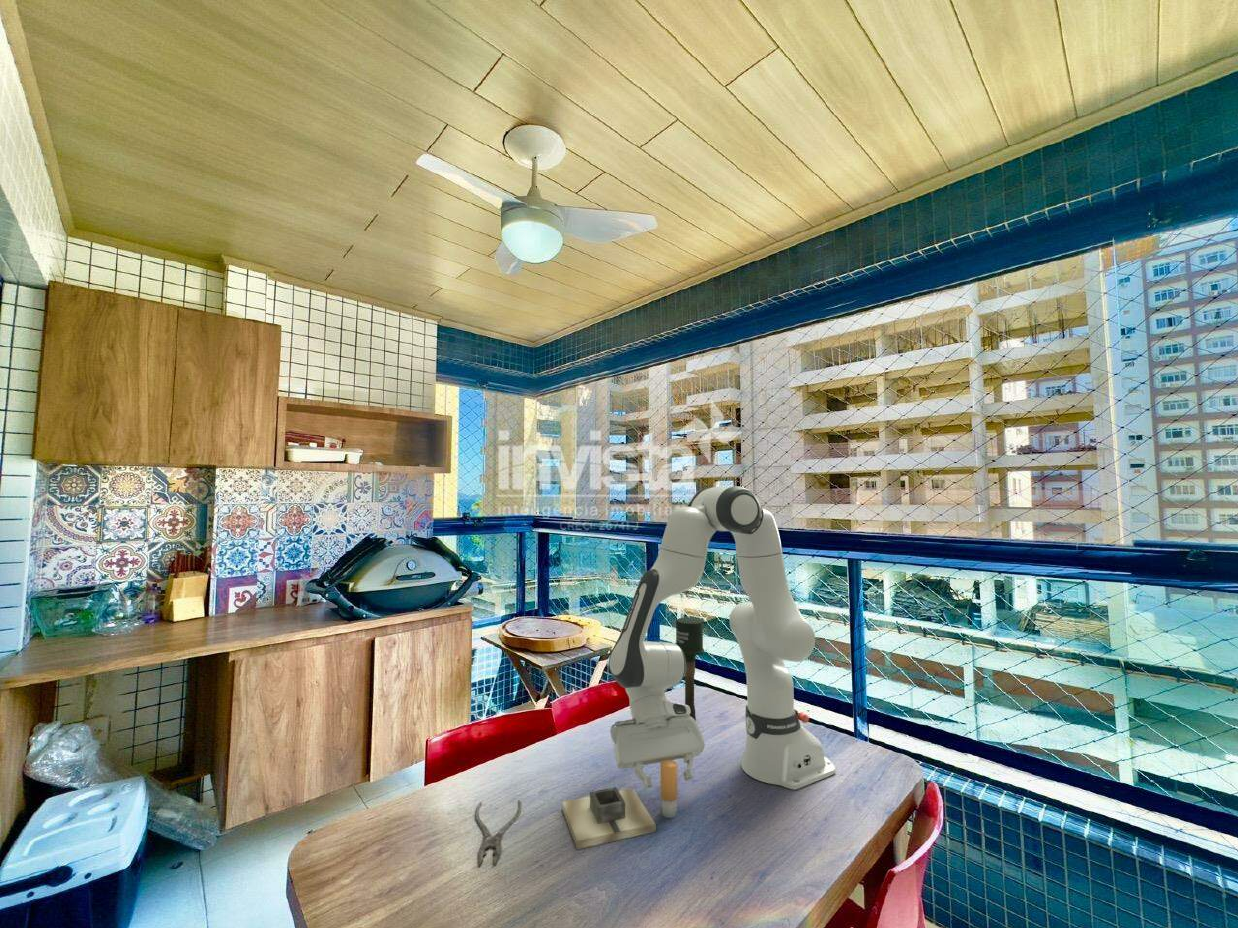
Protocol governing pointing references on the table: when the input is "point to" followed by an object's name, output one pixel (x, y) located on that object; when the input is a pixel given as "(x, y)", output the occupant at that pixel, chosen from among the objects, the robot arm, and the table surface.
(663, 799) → the orange rounded handle
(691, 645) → the stick grenade
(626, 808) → the cream rectangular base board
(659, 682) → the robot arm
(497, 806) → the table surface
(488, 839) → the pliers
